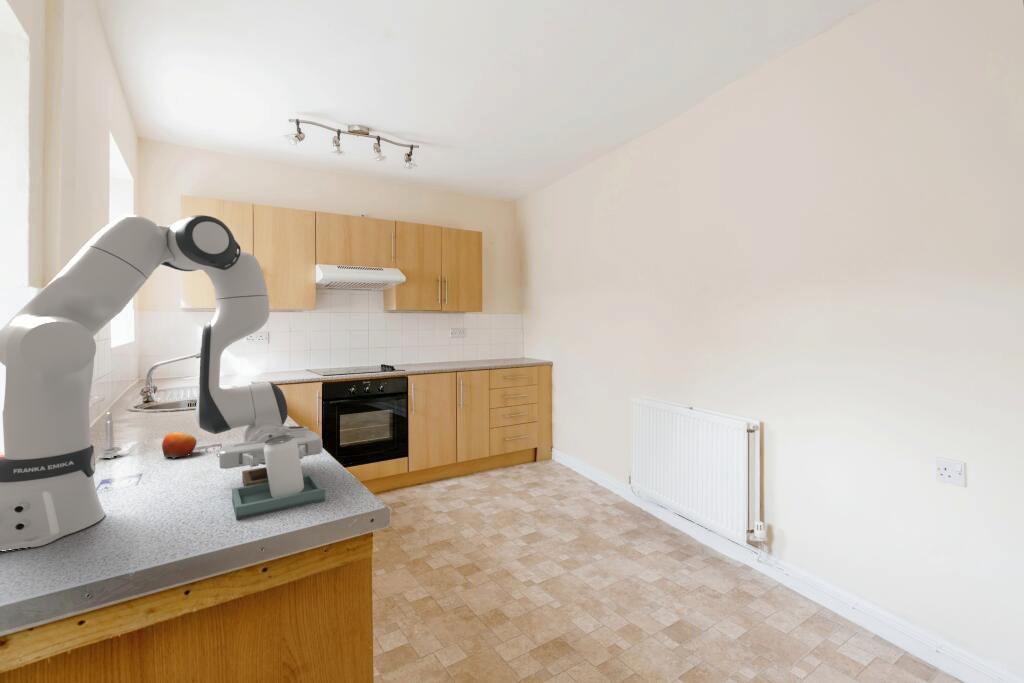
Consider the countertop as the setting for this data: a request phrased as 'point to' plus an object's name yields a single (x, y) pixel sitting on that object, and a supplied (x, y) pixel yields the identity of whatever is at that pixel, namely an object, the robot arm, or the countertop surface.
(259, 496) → the tray
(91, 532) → the countertop surface
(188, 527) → the countertop surface
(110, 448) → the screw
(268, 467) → the can
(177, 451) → the fruit
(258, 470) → the collar
